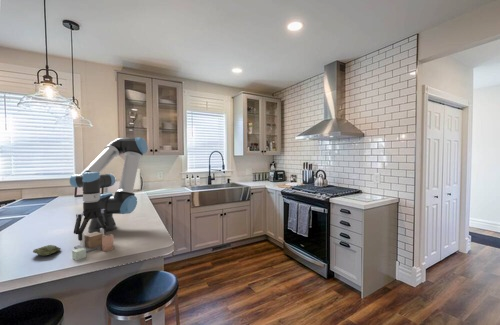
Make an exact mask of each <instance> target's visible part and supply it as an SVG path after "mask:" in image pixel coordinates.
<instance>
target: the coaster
mask: <svg viewBox="0 0 500 325" xmlns="http://www.w3.org/2000/svg"><path fill="white" fill-rule="evenodd" d="M73 247H74V250H75V249H78V248H81V247H82V246H80V244H79V245H75V246H73ZM82 248H85V249H86V254H87V253H90V252H92V251H93V252H94V251H96V250H98V249H101V248H102V245H100V246H97V247H93V248H87V247H85V246H84V247H82Z"/></svg>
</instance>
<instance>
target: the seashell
mask: <svg viewBox="0 0 500 325" xmlns="http://www.w3.org/2000/svg"><path fill="white" fill-rule="evenodd" d="M60 250H62V249H61V247H59V246H56V245H54V244H48V245H45V246H41V247H38V248H34V249H33V251H32V253H34V254H37V255H38V256H43V257H46V256H50V255H52V254H54V253H56V252H59V251H60Z"/></svg>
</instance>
